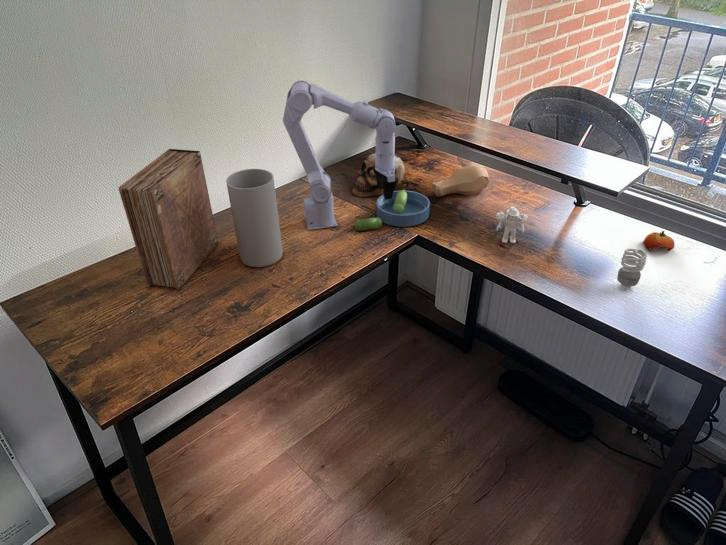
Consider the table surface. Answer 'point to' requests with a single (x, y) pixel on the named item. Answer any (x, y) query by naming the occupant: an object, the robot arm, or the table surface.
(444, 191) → the squash
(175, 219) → the book
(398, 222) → the bowl
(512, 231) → the hat wearing toy figure
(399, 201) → the pale zucchini
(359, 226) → the green zucchini
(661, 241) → the tomato
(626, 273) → the light bulb
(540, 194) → the table surface
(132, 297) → the table surface
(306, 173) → the robot arm
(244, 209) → the cylinder vase
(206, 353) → the table surface
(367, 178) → the coin bank
